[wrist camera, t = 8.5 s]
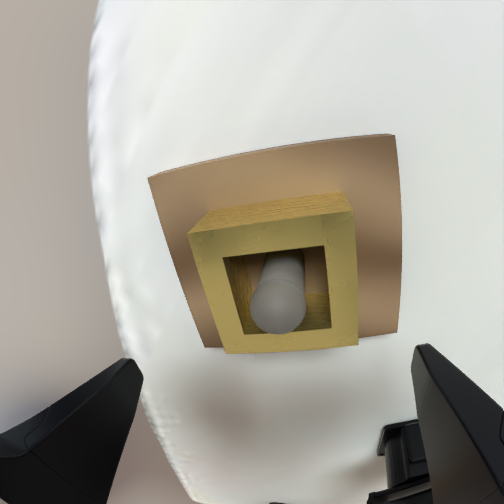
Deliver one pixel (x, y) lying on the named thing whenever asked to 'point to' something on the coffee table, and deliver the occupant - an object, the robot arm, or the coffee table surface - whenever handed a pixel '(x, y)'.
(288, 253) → the brown base plate
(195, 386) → the coffee table surface
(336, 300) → the brass square frame
